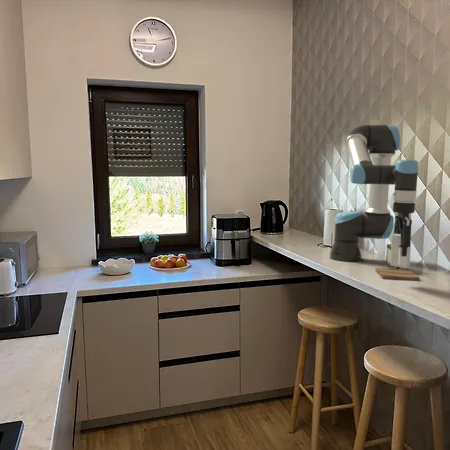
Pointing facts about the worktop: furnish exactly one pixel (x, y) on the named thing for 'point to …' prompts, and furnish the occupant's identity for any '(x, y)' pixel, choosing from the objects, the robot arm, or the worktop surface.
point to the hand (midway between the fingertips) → (399, 262)
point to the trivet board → (396, 274)
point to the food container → (389, 258)
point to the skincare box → (395, 251)
